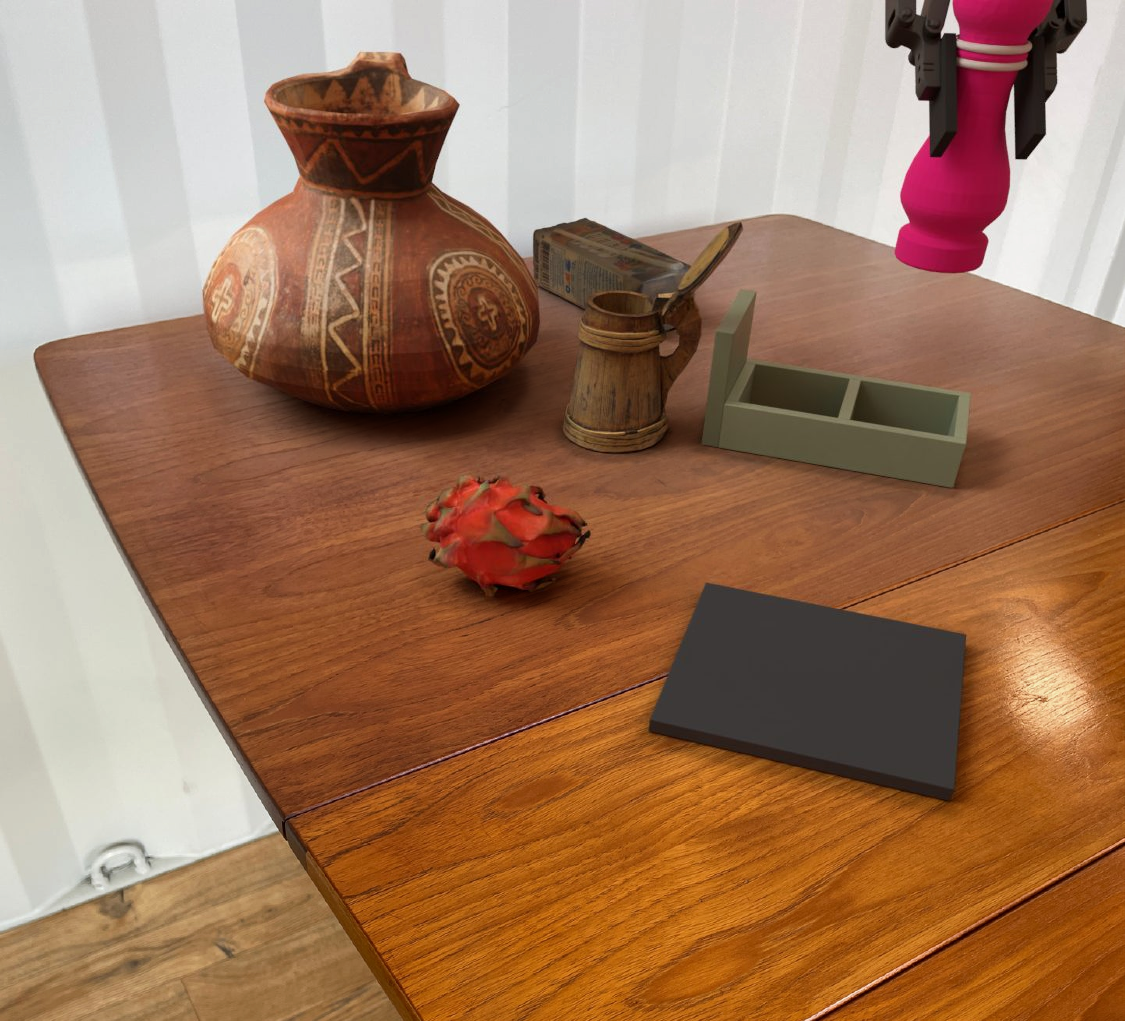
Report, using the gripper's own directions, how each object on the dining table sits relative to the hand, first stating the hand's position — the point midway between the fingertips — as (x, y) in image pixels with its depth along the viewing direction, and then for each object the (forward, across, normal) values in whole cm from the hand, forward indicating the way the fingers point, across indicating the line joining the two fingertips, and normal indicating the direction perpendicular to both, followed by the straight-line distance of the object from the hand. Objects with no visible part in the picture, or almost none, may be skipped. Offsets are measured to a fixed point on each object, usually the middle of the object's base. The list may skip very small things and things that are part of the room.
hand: (987, 145), depth 70 cm
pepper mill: (+3, 0, -9) cm, 9 cm away
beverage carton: (-12, +20, -49) cm, 55 cm away
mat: (+35, +11, -2) cm, 37 cm away
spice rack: (+10, +2, -27) cm, 29 cm away
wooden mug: (+10, +20, -28) cm, 35 cm away
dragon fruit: (+26, +31, -11) cm, 42 cm away
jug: (+2, +44, -35) cm, 56 cm away
